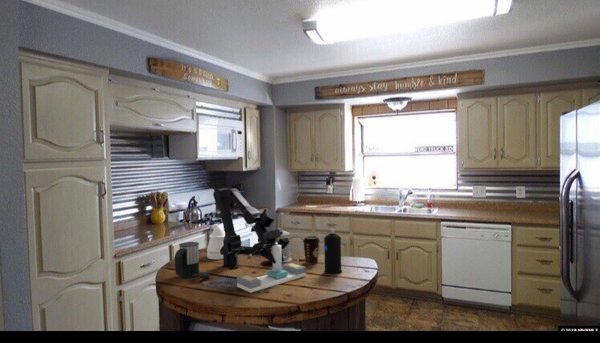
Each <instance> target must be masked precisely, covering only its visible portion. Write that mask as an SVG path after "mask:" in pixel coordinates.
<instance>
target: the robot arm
mask: <svg viewBox="0 0 600 343" xmlns="http://www.w3.org/2000/svg"><path fill="white" fill-rule="evenodd" d="M212 195H213V196H212V197H213V199H214V202H215V203H216V205H218V207H219V210H220V217H221V221H222V226H223V230H224V232H225V237H224V240H223V244H224V245H223V247H222V248H221V249H220V253H221V255H223V259H222V260H223V265H222V266H221V267H222V268H235V267H236V266H238V265H239V256H238V255H237V253H239V252H240V248H241V246H242V242H243V241H242V239H241V235H240V234H237V233H236V231H235V230H236V229H235V225H234V222H233V217H232V212H231V206H230V203H231V201H233V203H234V204H235V205H236V207H238V209H239V210H240V211H241V213H242V217H243V219H244V221H245V223H246V224H248V225H252V226H251V229H250V232H251V233H253V232H254V233H255V235H256V236H257V238H258V239H257V243H254V244H253V246H251V247H252V248H251V250H250V253H251V255H252V256H254V257H255V255H256V256H259V257H263V258H265V259H267V260H268V261H270V263H272V264H273V263H274V264H275V263H276V261H275V259H274V257H273V255H272V252H271V251H270V248H272V246H273V245H281V255H282V263H284V262H283V261H284V259H283V253H282V249H284V248H285V247H286V246H287V245H288V243H289V244H290V240H289V238H288V237H286V236H284V237H283V238H282V236H281V235H282V234H283V232H282V227H277V228H275V229H273V230H269V229H268V228H269V227H271V226H272V225H273V223H274V222H275V221H276V220H277V218H278V217H277V216H278V215H277V213H276V212H274V211H273V210H271V209H270V208H267V207H266V208H264V209H263V212H261V211H259V209H257V208H256V207H253V206H251V205H250V204H249V202H248V201H247V200H246V199H245V198H244V197H243V196H242V194H241V193H240V191H239V189H238V188H235V187H234V188H227V187H226V188H225V187H223V188H217V189H214V191H213V194H212ZM253 224H254V225H253ZM278 238H279V239H278ZM278 240H279V241H278ZM276 241H278V242H276ZM258 251H260V254H259V255H258Z"/></svg>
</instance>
